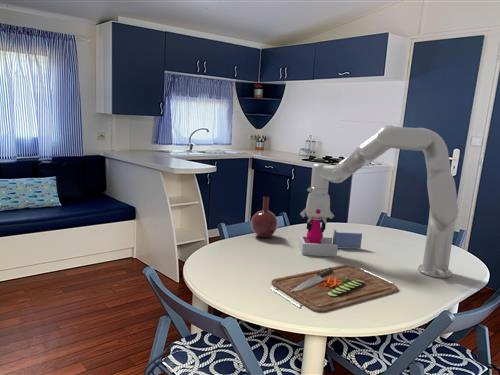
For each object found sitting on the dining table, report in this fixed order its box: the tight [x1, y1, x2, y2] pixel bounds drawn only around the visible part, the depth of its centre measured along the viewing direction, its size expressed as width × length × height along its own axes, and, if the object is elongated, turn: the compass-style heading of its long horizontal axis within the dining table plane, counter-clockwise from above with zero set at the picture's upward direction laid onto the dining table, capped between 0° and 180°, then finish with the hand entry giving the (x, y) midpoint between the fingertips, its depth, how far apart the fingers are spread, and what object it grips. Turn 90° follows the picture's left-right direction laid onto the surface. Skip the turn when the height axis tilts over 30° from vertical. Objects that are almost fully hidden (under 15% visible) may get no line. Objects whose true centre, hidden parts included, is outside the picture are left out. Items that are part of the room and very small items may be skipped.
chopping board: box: [270, 264, 399, 313], centre depth 150 cm, size 45×27×3 cm, turn 122°
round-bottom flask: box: [250, 195, 279, 238], centre depth 204 cm, size 13×13×20 cm
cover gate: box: [332, 229, 363, 249], centre depth 194 cm, size 13×1×8 cm, turn 91°
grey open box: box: [298, 235, 339, 257], centre depth 188 cm, size 12×15×5 cm
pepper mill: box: [306, 209, 324, 244], centre depth 186 cm, size 7×7×20 cm
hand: (315, 230), depth 187 cm, fingers closed on pepper mill, 5 cm apart
